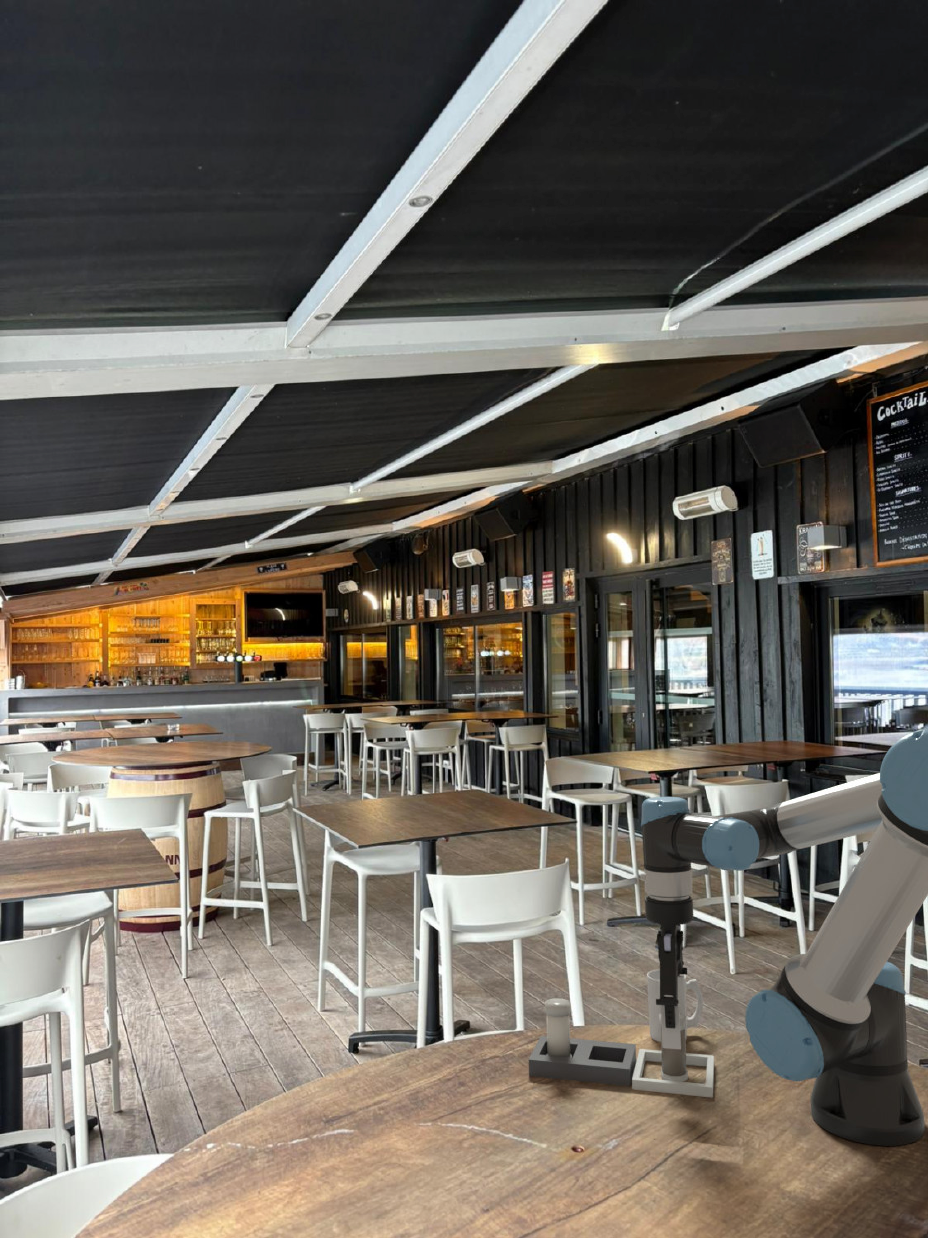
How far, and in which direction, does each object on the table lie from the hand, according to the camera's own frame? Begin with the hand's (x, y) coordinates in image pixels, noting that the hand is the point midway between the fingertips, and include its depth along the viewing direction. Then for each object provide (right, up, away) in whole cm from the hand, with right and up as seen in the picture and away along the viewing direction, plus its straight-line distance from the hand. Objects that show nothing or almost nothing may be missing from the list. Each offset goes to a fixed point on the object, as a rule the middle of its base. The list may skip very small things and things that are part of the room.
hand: (674, 1031), depth 146 cm
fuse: (-18, -8, +5) cm, 20 cm away
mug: (+4, -10, +16) cm, 19 cm away
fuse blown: (0, -8, 0) cm, 8 cm away
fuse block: (-14, -9, +4) cm, 17 cm away
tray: (0, -9, 0) cm, 9 cm away
